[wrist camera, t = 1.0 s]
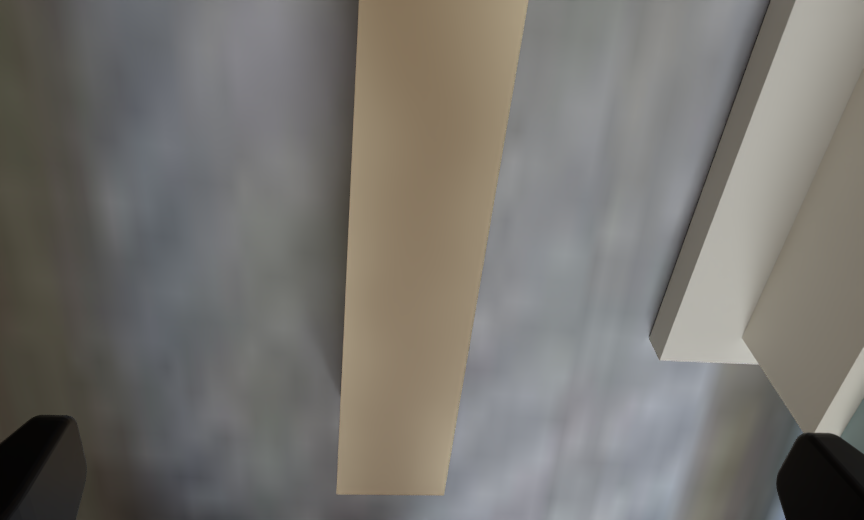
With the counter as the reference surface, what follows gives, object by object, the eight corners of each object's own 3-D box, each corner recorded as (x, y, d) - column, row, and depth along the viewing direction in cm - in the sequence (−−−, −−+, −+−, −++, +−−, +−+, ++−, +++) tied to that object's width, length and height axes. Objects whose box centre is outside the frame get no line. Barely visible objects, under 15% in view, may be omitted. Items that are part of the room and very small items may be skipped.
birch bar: (551, -436, 13) (615, -508, 9) (433, 394, 24) (443, 495, 20) (380, -462, 12) (383, -548, 9) (341, 391, 23) (336, 494, 20)
